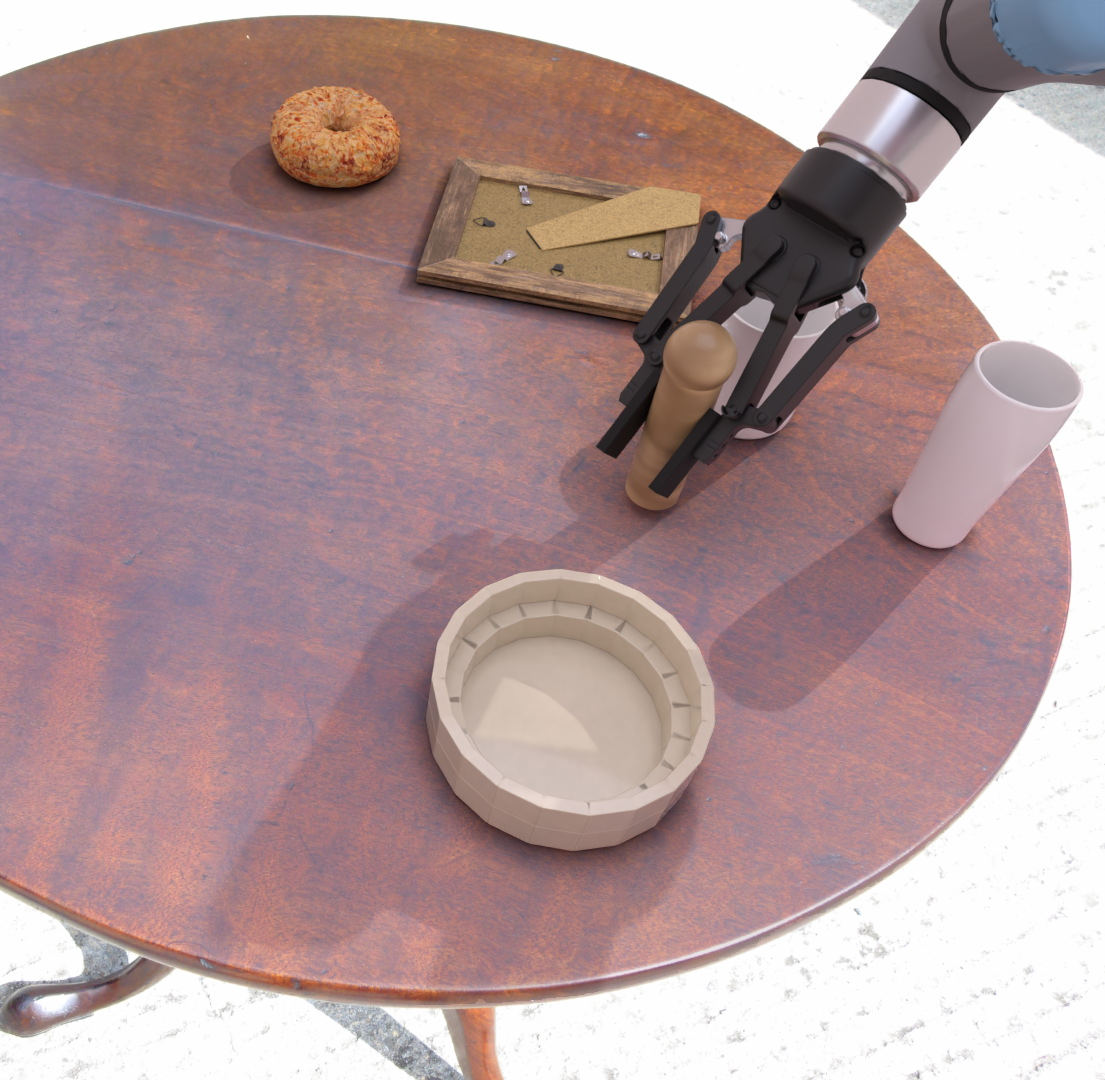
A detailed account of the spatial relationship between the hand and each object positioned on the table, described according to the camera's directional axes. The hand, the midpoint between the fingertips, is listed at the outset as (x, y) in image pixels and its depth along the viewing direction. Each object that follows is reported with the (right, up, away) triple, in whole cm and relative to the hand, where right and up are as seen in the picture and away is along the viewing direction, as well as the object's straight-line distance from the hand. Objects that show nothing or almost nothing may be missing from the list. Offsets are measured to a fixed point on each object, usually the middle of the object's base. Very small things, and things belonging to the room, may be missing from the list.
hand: (632, 472), depth 74 cm
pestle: (+3, -1, +5) cm, 6 cm away
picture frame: (-1, +22, +25) cm, 34 cm away
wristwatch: (+22, +15, +20) cm, 33 cm away
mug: (+10, +6, +13) cm, 17 cm away
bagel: (-22, +33, +33) cm, 52 cm away
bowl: (-6, -16, -6) cm, 19 cm away
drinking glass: (+23, -4, +6) cm, 24 cm away
